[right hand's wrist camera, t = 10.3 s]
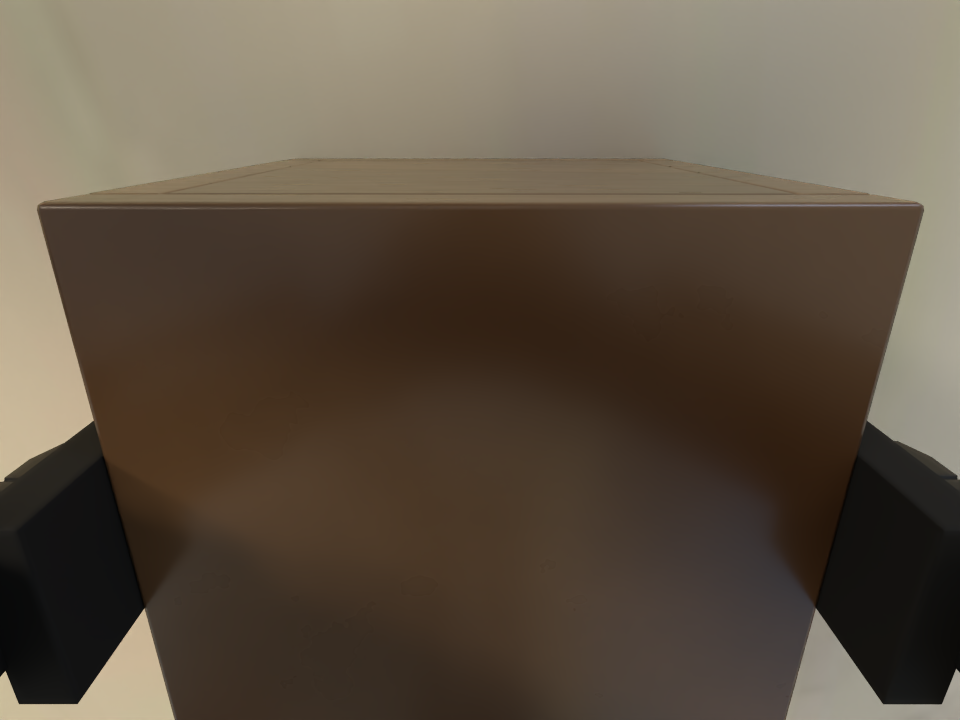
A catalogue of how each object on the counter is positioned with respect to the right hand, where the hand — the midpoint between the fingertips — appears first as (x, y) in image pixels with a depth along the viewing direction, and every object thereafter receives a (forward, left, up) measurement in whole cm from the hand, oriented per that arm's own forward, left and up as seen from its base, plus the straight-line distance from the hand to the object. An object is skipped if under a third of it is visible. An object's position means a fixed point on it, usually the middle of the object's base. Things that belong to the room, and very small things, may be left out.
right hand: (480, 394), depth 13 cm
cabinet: (+3, -4, -5) cm, 8 cm away
